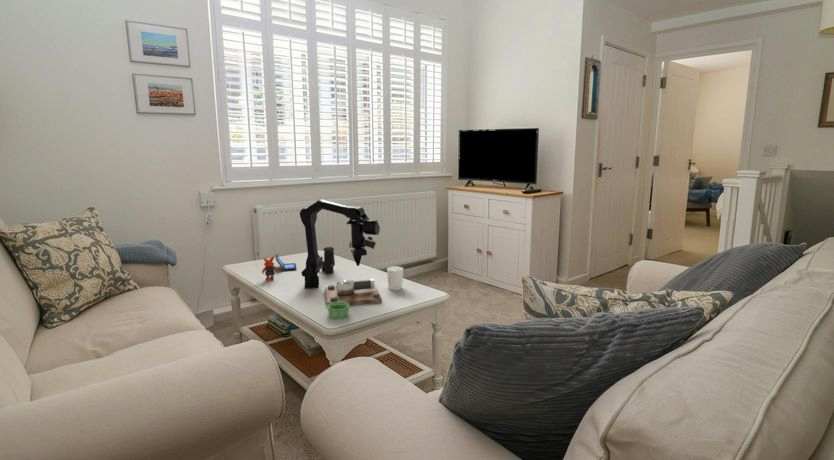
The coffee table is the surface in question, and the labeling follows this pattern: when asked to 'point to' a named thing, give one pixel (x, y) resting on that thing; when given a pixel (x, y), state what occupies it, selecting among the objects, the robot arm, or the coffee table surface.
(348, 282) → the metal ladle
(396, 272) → the white cup
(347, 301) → the base plate
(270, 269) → the toy animal
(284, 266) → the handheld game console
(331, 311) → the ramekin
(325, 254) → the scope
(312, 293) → the coffee table surface
